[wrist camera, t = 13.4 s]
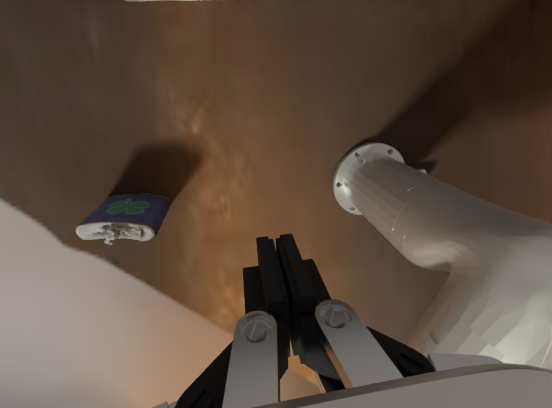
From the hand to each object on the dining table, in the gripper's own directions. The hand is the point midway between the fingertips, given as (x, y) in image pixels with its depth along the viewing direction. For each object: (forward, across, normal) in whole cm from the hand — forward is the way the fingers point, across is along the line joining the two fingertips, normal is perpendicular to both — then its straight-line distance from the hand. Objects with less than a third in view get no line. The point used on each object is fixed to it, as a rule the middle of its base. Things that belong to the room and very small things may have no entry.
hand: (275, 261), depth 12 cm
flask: (+29, +17, +8) cm, 35 cm away
